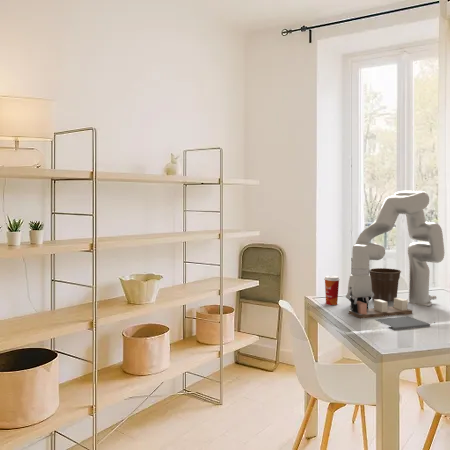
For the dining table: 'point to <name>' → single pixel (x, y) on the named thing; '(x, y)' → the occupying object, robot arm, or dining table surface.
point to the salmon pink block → (361, 307)
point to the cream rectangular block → (380, 305)
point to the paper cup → (331, 289)
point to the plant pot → (384, 283)
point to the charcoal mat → (403, 323)
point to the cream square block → (400, 303)
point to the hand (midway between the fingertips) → (359, 311)
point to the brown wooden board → (380, 313)
